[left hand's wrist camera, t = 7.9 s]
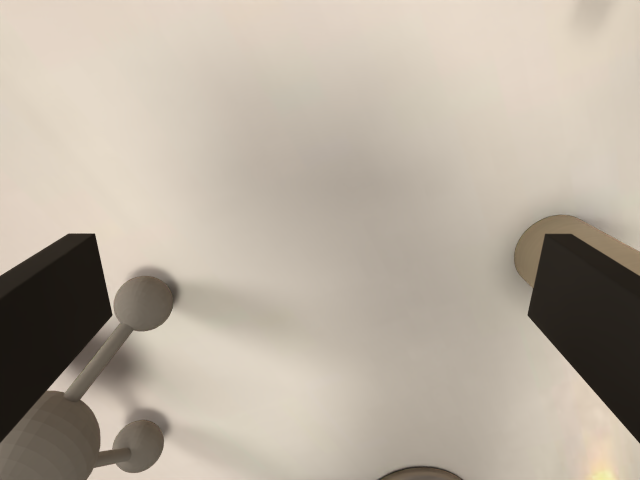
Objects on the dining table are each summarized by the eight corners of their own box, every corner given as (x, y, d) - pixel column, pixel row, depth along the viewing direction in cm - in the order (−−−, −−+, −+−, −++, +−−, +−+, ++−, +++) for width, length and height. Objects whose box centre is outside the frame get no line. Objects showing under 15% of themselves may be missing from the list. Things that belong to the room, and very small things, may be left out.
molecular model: (261, 335, 46) (170, 734, 18) (156, 447, 52) (-33, 873, 24) (70, 205, 40) (-488, 490, 12) (-22, 348, 47) (-533, 752, 19)
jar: (609, 235, 42) (805, 340, 25) (559, 297, 44) (706, 431, 28) (545, 201, 40) (707, 289, 24) (498, 267, 43) (613, 389, 26)
